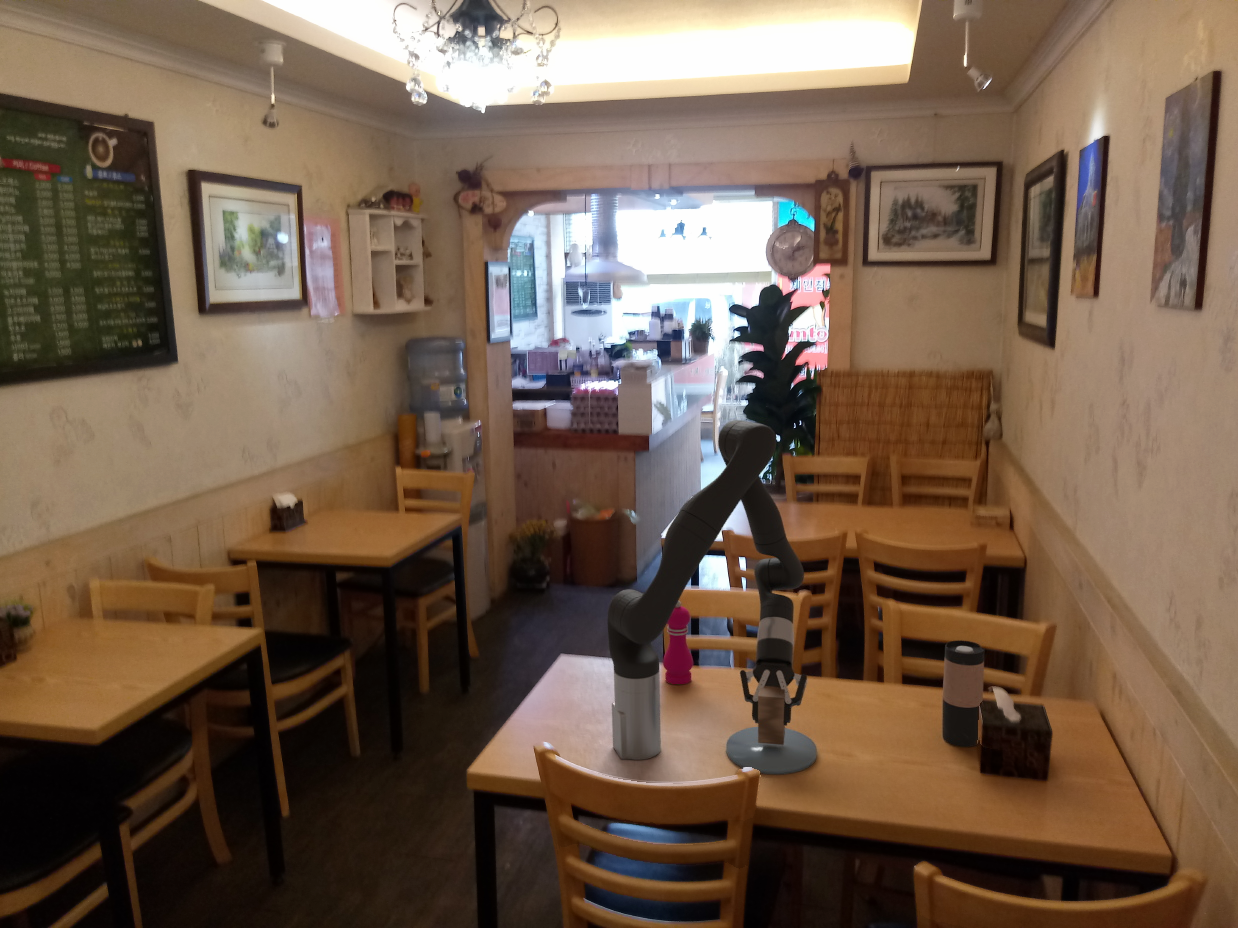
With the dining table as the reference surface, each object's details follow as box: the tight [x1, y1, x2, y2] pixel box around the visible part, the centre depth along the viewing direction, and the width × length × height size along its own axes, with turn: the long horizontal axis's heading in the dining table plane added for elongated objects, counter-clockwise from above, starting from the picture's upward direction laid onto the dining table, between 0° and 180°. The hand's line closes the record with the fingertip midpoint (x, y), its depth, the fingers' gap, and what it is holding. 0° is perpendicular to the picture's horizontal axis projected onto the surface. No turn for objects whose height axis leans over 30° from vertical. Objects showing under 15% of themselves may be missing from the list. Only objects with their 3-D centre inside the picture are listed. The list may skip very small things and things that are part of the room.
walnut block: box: [757, 686, 786, 745], centre depth 187 cm, size 5×5×10 cm
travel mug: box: [941, 639, 986, 748], centre depth 190 cm, size 8×8×20 cm
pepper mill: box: [662, 600, 694, 685], centre depth 223 cm, size 7×7×20 cm
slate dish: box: [725, 726, 818, 775], centre depth 188 cm, size 18×18×1 cm
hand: (771, 722), depth 185 cm, fingers closed on walnut block, 5 cm apart
